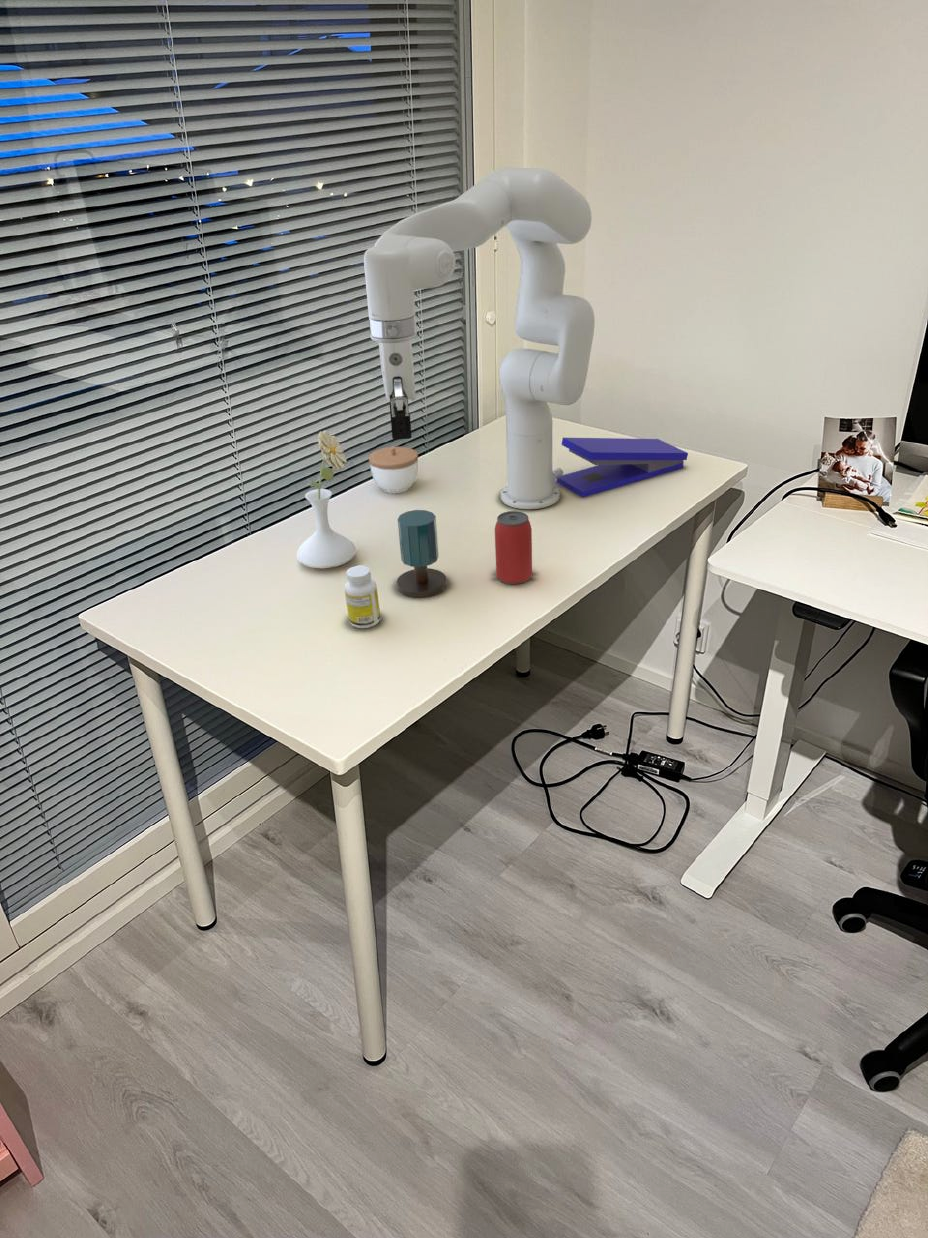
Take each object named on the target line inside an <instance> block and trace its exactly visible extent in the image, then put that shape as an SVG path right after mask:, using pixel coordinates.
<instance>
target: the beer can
mask: <svg viewBox="0 0 928 1238" xmlns="http://www.w3.org/2000/svg"><path fill="white" fill-rule="evenodd" d="M532 529H533V528H532V525H531V521H530V519H529V515H528V514H527V513H525V512H523V511H518V510H510V511H505V512H502V513H499V515H498V516H497V517H496V523H495V526H494V547H495V548H494V549H495V574H496V578H497V579H498V580H499V581H500V582H502V583H505V584H508V585H509V584H510V585H520V584H523V583H526V582H527V581H528V580H530V579H531V577H532V575H533V537H532V535H533V533H532Z"/></svg>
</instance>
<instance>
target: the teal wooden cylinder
mask: <svg viewBox="0 0 928 1238" xmlns="http://www.w3.org/2000/svg"><path fill="white" fill-rule="evenodd" d="M397 527H398V537H399V539H398V540H399V549H400V561H401V562H402V563H403V564H404V565H405V566H408V567H413V568H414V567H423V566H427V567H429V566H431V565H433V564H434V563H437V561H438V559H439V545H438V543H439V542H438V530H437V516H436V515H435V513H433V512H432V511H429V510H426V509H414V510H409V511H408V510H407V511H405V512H403V513H401V514H400V515H399V516H398V518H397Z"/></svg>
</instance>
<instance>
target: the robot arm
mask: <svg viewBox="0 0 928 1238" xmlns="http://www.w3.org/2000/svg"><path fill="white" fill-rule="evenodd" d="M592 218H593V217H592V210H591V206H590V204H589V202H588V199H586V197H585V196H584V195H583V194H582V193H581V192H579V191H578V190H577V189H576V188H575V187H573V186H572V185H570V184H569V183H568V182H567V181H566V180H565V179H563V178H561V177H560V175H557V174H556V173H554V172H552V171H550V170H548V169H544V168H538V167H537V168H535V167H503V168H502V167H501V168H498V169H495V170H493V171H491V172H490V173H489V174H487V175H486V176H485V177H482V179H480V180H479V181H478V182H477V183H475V184H474V185H472V186H471V187H470V188H468V189H467V190H466V191H464V192H463V193H462V194H461V195H459V196H458V197H457V198H455V199H453V200H450V201H447V202H444V203H440V204H438V205H436V206H433V207H430V208H428V209H425V210H422V211H419V212H416V213H413V214H412V215H411V214H410V215H409V216H407V217H405V218H403V219H401V220H399V221H398V222H397V223H395V224H394V225H392V226H391V227H390V228H388V229H387V230H386V231H384V232H383V233H382V234H381V235H380V236H379V238H378V239H377V240H376V242H375V243H374V245H373V246H372V247H369V248H367V250H365V251H364V255H363V269H364V276H365V277H364V281H365V289H366V291H365V292H366V300H367V302H366V303H367V311H368V312H367V313H368V324H369V325H368V326H369V335H370V339H371V340H372V341H375V342H378V351H379V360H380V361H379V362H380V371H381V376H382V383H383V389H384V393H385V399H386V401H387V402H388V403H389V414H390V427H391V436H392V440H394V441H396V440H410V439H412V425H411V414H410V413H409V400H411V402H414V401H415V400H416V398H417V396H416V385H415V384H416V383H415V370H414V369H415V368H414V367H415V366H414V356H413V355H414V354H413V346H412V340H413V339H415V338H416V337H417V335H418V333H417V319H416V302H415V291H416V290H422V289H423V290H424V289H434V288H438V287H441V286H443V285H444V284H446V283H447V282H448V281H449V280H450V279H451V278H452V276H453V275H454V272H455V269H456V264H457V263H456V256H455V253H454V252H462V251H467V250H470V249H475V248H478V247H481V246H483V245H484V244H485V243H487V242H488V241H489V240H490V239H491V238H492V237H494V236H495V235H496V234H497V233H499V232H500V231H501V230H502V229H503V228H505V227H506V229H507V231H508V233H509V234H510V236H511V238H512V239H513V241H514V243H515V245H516V247H517V250H518V253H519V257H520V265H521V267H520V280H519V286H518V293H517V300H516V307H515V314H514V315H515V316H514V330H515V333H516V335H517V336H518V337H519V338H520V339H522V340H524V341H527V342H531V343H536V344H542V345H549V346H555V347H558V352H557V353H556V352H550V351H545V350H539V349H532V348H517V349H513V350H511V351H509V352H508V353H507V354H505V355H504V357H503V358H502V360H501V362H500V365H499V382H500V388H501V392H502V396H503V401H504V411H505V433H506V434H505V436H506V437H505V438H506V439H505V440H506V442H505V443H506V476H507V477H506V479H507V485H506V486H505V487H504V488H502V490H501V491H500V500H501V501H502V503H504V505H507V506H508V507H512V508H515V509H520V510H539V509H543V508H547V507H551V506H552V505H555V503H557V502H558V501H559V500H560V497H561V492H560V489H559V488H558V487H557V486H556V485H555V482H556V481H557V478H559V477H560V476H562V475H564V471H563V469H562V468H560V467H557V468H555V469H553V414H552V411H551V408H550V406H549V404H554V405H559V406H571V405H573V404H575V403H577V402H578V401H579V399H580V398H581V397H582V395H583V392H584V389H585V386H586V381H587V377H588V376H587V375H588V371H589V365H590V358H591V353H592V347H593V340H594V335H595V334H594V333H595V324H596V323H595V322H596V321H595V313H594V309H593V306H592V304H591V303H590V302H589V301H588V300H587V299H586V298H584V297H581V296H577V295H571V294H564V286H565V285H564V283H565V276H566V263H565V259H564V256H563V254H562V253H563V252H562V251H561V248H560V247H559V245H558V244H563V245H575V244H578V243H579V242H581V241H583V240H584V239H585V238H586V237H587V235H588V233H589V231H590V229H591V227H592ZM548 403H549V404H548Z"/></svg>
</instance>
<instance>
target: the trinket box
mask: <svg viewBox="0 0 928 1238" xmlns="http://www.w3.org/2000/svg"><path fill="white" fill-rule="evenodd" d="M418 459H419V454H418V452H417V450H415V449H414V448H411V447H407V446H388V447H387V446H386V447H383V448H379V449H377V450H374V451H373V452H372V453H370V454H369V456H368V462H369V468H370V473H371V477H372V479H373V481H374V483H375V484H376V485H377V486H378V487H379V488H380V489H382V491H383V492H384V493H387V494H391V495H393V494H395V495H396V494H402V493H406V492H407V491H409V490H410V488H411V486H412V485H413V484H414V483H415V481H416V479H417V477H418V471H419V460H418ZM388 490H389V491H388ZM397 490H398V491H397Z"/></svg>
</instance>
